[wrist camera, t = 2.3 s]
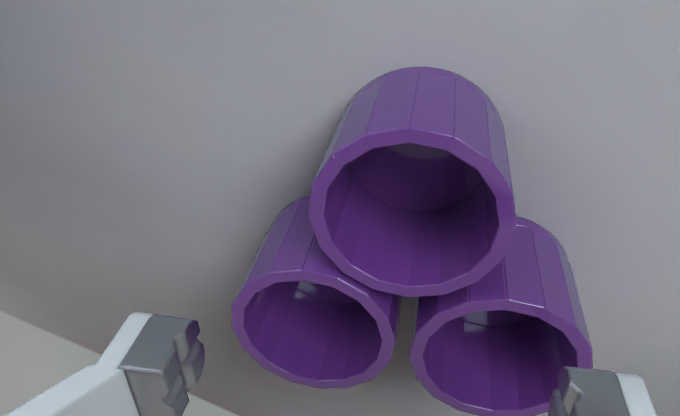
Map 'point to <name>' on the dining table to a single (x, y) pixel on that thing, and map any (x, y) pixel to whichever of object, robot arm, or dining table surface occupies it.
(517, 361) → the dish
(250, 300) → the purple cup
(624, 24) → the dining table surface
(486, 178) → the purple short cylinder
